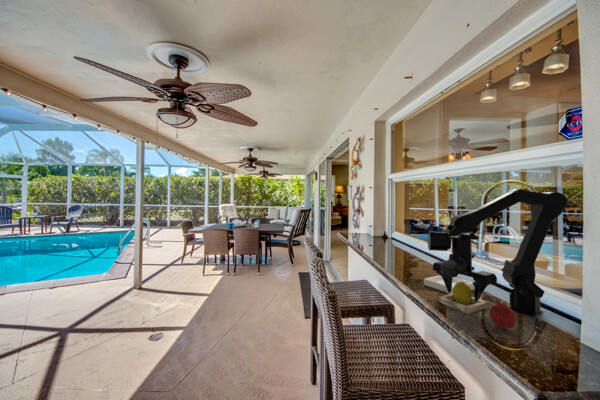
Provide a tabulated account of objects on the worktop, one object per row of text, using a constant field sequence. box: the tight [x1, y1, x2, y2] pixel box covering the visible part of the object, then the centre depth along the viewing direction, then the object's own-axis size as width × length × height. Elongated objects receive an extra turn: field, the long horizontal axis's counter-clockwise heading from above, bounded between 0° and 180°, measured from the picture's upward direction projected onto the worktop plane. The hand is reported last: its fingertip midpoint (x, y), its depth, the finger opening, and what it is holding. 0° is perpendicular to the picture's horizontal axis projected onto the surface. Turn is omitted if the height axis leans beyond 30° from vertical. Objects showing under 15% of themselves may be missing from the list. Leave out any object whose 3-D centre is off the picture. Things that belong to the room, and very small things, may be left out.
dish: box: [423, 274, 475, 294], centre depth 102 cm, size 13×13×3 cm
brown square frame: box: [437, 293, 489, 315], centre depth 85 cm, size 10×10×2 cm
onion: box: [489, 299, 517, 330], centre depth 69 cm, size 6×6×8 cm
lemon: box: [453, 282, 473, 305], centre depth 85 cm, size 6×6×8 cm
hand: (462, 296), depth 85 cm, fingers open, 9 cm apart
